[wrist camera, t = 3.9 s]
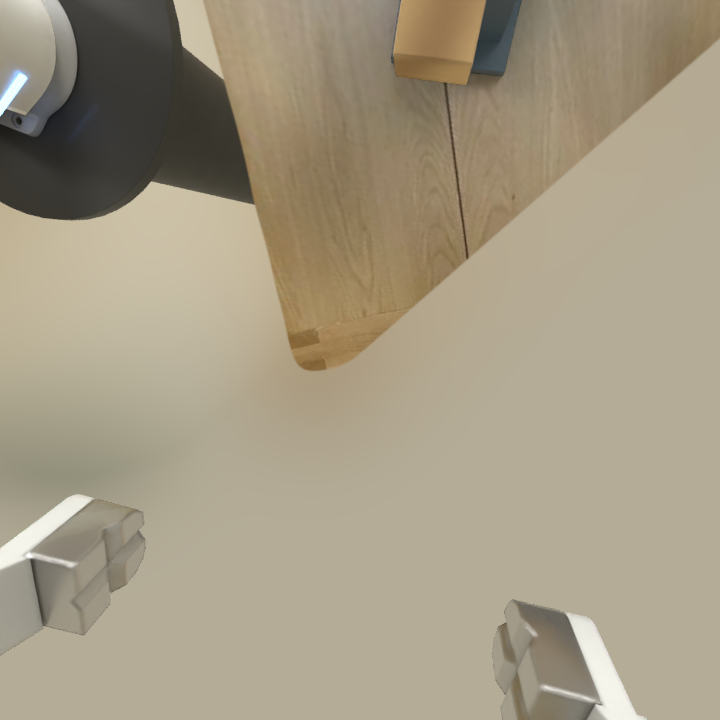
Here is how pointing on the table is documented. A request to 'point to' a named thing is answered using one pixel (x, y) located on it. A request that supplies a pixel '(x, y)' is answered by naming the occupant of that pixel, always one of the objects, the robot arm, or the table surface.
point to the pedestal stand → (492, 36)
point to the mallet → (437, 39)
